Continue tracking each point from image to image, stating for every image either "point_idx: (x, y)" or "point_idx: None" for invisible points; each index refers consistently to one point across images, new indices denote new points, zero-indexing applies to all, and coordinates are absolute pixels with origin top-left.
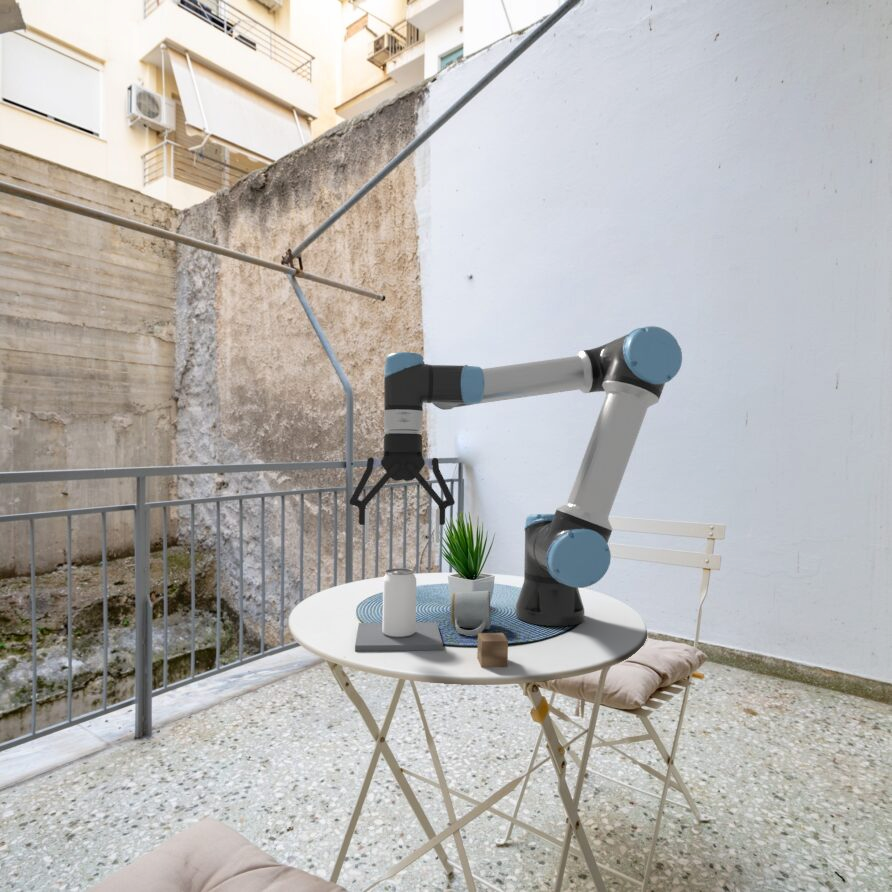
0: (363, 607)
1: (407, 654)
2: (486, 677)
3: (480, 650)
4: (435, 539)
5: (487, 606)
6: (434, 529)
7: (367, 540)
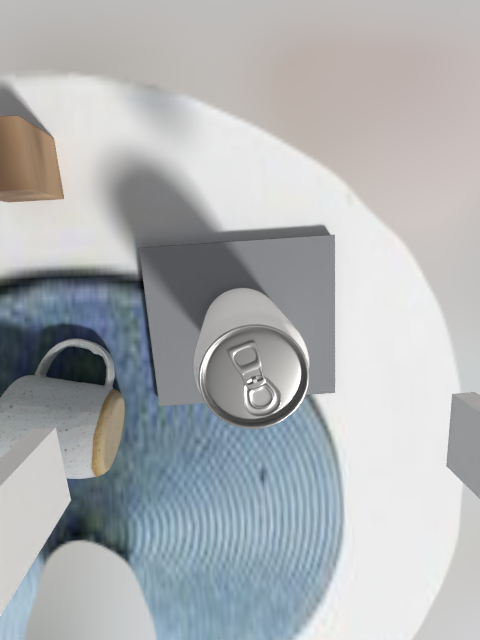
0: (329, 528)
1: (218, 218)
2: (40, 72)
3: (39, 145)
4: (45, 438)
5: (6, 393)
6: (32, 558)
7: (469, 399)
